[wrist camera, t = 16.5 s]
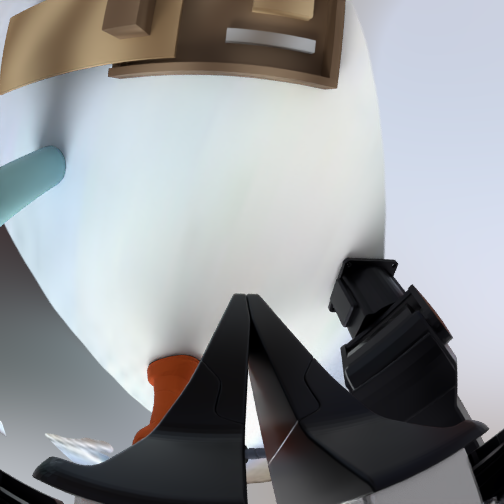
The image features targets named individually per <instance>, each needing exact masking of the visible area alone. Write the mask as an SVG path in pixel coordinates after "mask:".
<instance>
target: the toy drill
mask: <svg viewBox="0 0 504 504" xmlns="http://www.w3.org/2000/svg"><path fill="white" fill-rule="evenodd" d="M199 362H200V361H199V360H198V359H196V358H194V357H192V356H188V355H175V356H170V357H166V358H162V359H159V360H157V361H154V362H152V363H151V364H150V365H149V367H148V370H147V375H148V381H149V383H150V384H151V385H152V386H154V394H155V395H154V406H153V412H152V416H151V420H150V424H149V425H148V426H146V427H144V428H142V429H141V430H140V431H138V432H137V434H136V436H135V437H134V440H133V444H132V445H134V444H135V443H137V442H138V441H140V440H142V439H143V438H145V437H146V436H147V435H149V434H150V433H151V432H152V431H153V430H154V429H155V428H156V426H157V425H158V424H159V423H160V421H161V420H162V419H163V417H164V416H165V415H166V413H167V412H168V411H169V409H170V408H171V407H172V405H173V404H174V403H175V401H176V400H177V398H178V397H179V396H180V394H181V393H182V391H183V390H184V388H185V387H186V385H187V384H188V382H189V381H190V379H191V377H192V375H193V374H194V372H195V370H196V368H197V366H198V364H199ZM260 458H266V453H265V449H264V448H256V449H254V448H249V449H248V448H247V447H246V446H245V461H246V463H247V462H248V459H260Z"/></svg>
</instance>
